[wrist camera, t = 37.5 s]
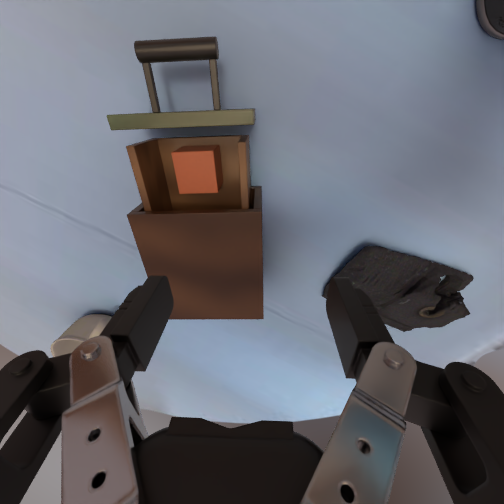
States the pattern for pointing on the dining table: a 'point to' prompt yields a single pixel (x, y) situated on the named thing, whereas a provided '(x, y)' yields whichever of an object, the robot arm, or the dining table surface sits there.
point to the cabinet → (206, 258)
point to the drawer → (159, 149)
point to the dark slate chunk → (407, 288)
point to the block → (198, 169)
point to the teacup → (79, 333)
